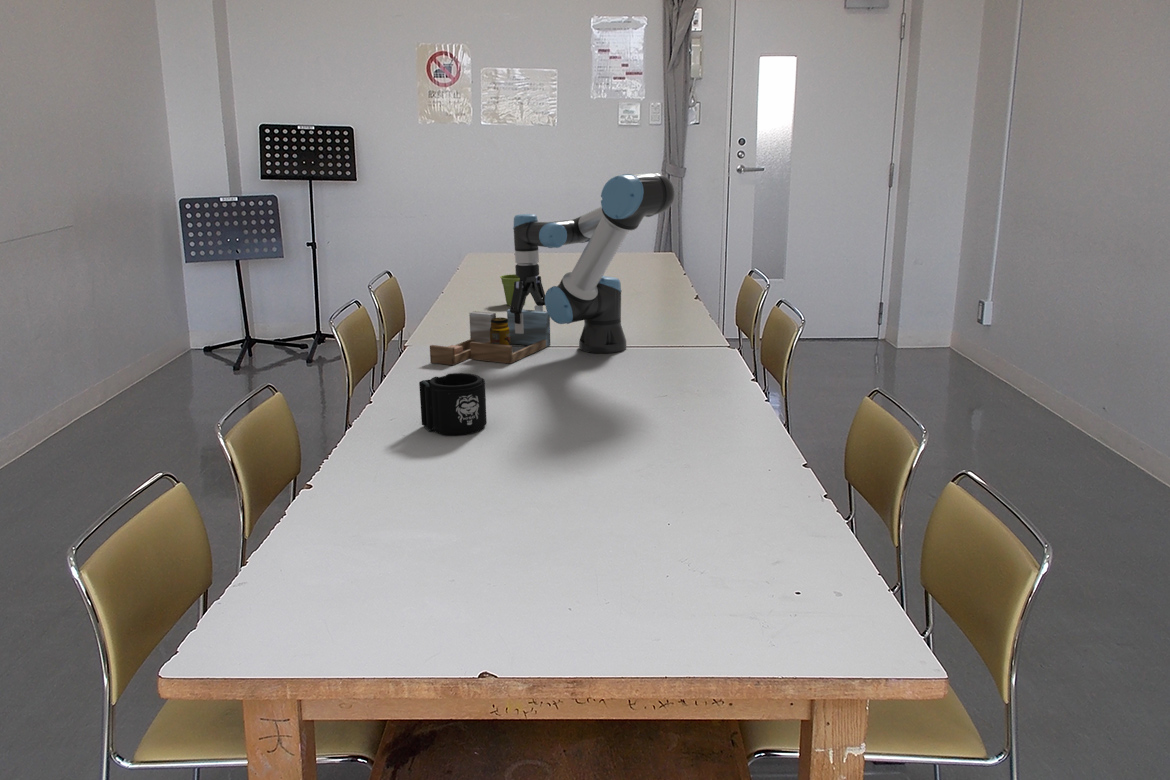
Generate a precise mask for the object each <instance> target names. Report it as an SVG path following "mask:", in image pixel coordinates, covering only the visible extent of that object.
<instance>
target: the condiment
mask: <svg viewBox="0 0 1170 780" xmlns="http://www.w3.org/2000/svg"><path fill="white" fill-rule="evenodd" d="M509 332H510V331H509V327H508V319H507V317H501V316H499V317H496V318H492V319H491V327H490V344H500V345H509V346H511V344H510V335H509Z"/></svg>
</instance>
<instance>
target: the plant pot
mask: <svg viewBox="0 0 1170 780" xmlns="http://www.w3.org/2000/svg"><path fill="white" fill-rule="evenodd" d="M499 278H500V279H501V284H502V287H503V292H504V298H505V302H506V305H507V306H509V307H511V302H512V297H513V291H514V282H515V281H516V282H519V281H520V278H519V277H517V276H516V273H515V274H504V275H500V276H499ZM525 304H526V302H525V303H524V305H525Z"/></svg>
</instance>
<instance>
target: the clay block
mask: <svg viewBox="0 0 1170 780" xmlns="http://www.w3.org/2000/svg"><path fill="white" fill-rule="evenodd" d="M456 345H457V344H454V345H453V344H451V345H448V346H447V347H454V351H455V355H456V354H458V353H461V352H463V346H456Z"/></svg>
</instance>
